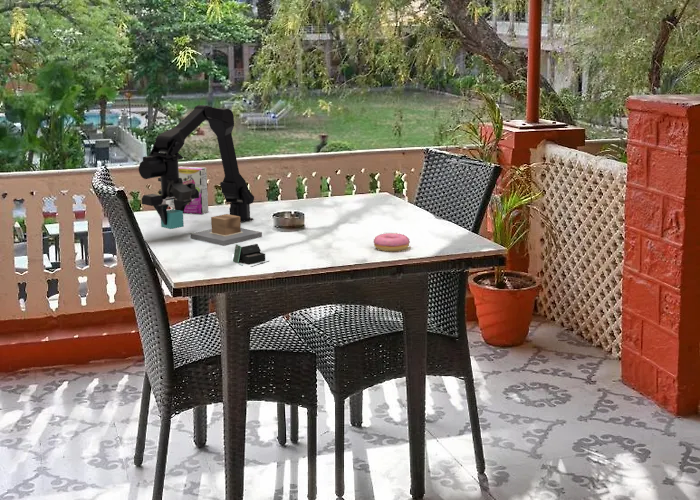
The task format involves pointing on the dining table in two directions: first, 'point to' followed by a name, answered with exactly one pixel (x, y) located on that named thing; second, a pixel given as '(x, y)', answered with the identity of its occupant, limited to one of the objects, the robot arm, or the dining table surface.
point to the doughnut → (391, 242)
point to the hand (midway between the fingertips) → (172, 223)
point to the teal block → (173, 219)
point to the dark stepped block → (248, 254)
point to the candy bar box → (200, 181)
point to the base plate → (226, 236)
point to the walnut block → (225, 224)
